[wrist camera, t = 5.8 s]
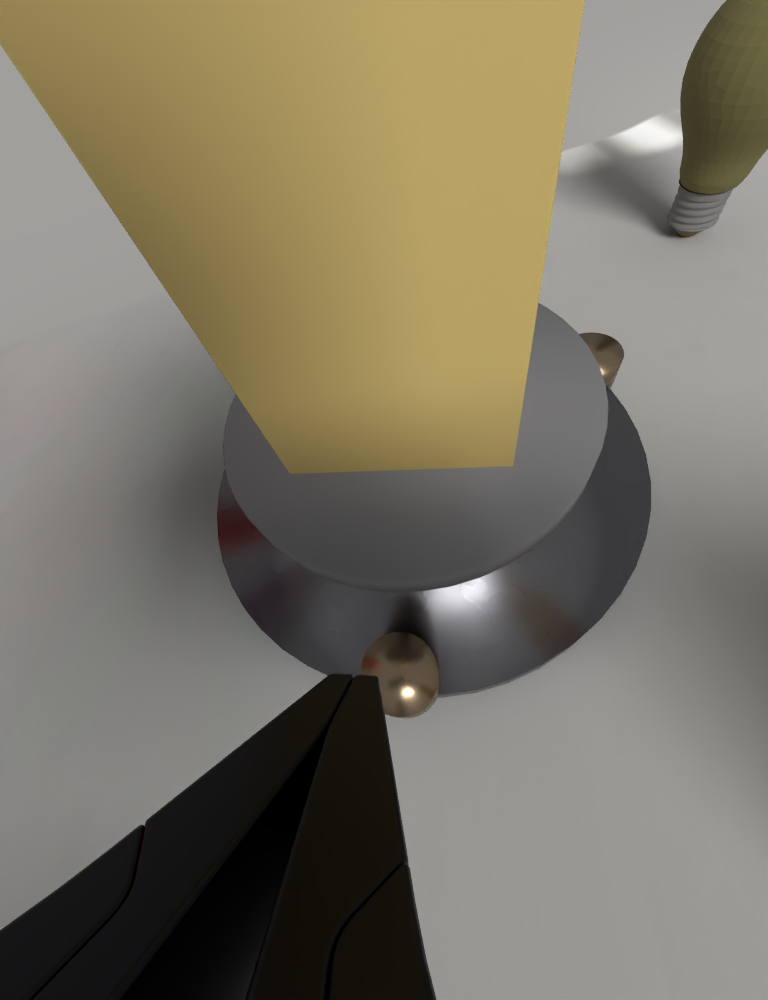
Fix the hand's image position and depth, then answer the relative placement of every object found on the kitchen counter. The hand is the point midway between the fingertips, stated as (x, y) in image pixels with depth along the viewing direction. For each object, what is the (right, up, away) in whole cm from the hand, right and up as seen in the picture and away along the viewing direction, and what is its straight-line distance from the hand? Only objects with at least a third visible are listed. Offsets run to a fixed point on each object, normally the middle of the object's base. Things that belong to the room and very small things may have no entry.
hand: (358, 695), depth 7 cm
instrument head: (+1, +6, +9) cm, 11 cm away
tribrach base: (+2, +4, +12) cm, 13 cm away
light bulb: (+18, +19, +17) cm, 31 cm away
